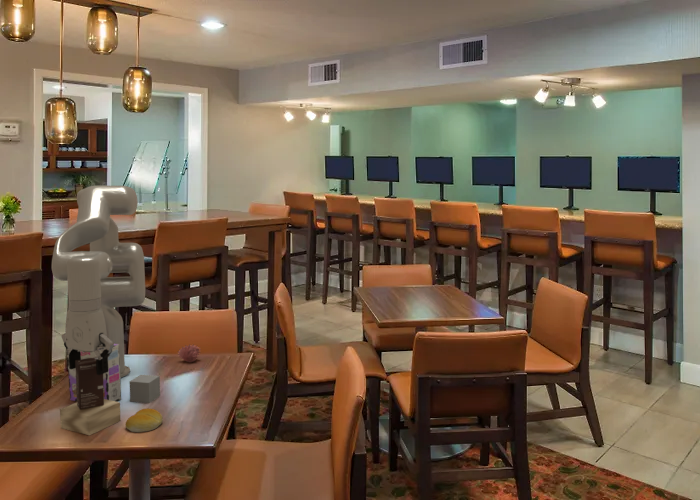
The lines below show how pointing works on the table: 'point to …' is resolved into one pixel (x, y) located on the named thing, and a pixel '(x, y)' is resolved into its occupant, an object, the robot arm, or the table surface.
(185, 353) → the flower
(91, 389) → the box
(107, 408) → the base block
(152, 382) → the grey cube
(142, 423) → the bread roll
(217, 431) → the table surface
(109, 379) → the candy box
